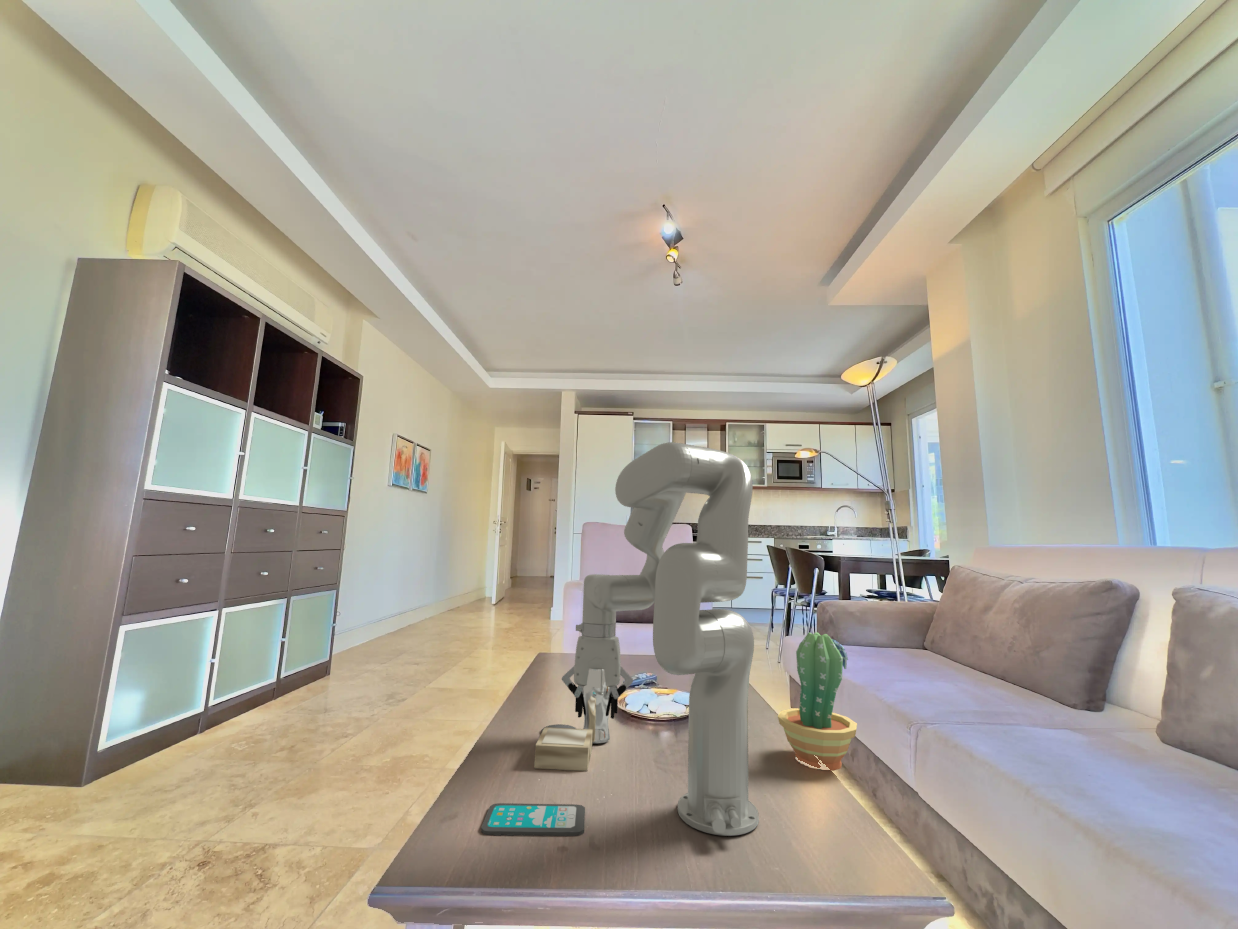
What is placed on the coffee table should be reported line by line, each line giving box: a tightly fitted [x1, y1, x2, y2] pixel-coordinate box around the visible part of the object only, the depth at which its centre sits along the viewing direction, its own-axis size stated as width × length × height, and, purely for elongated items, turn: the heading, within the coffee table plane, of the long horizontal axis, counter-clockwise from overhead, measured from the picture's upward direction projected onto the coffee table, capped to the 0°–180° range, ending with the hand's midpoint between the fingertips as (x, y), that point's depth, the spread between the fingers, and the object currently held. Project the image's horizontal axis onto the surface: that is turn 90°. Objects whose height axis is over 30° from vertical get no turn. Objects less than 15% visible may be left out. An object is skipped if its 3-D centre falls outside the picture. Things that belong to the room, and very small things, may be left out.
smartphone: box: [480, 802, 586, 837], centre depth 79 cm, size 9×1×15 cm
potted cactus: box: [777, 631, 858, 772], centre depth 107 cm, size 15×15×25 cm
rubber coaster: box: [541, 723, 577, 734], centre depth 115 cm, size 8×8×1 cm
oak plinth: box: [534, 726, 593, 772], centre depth 102 cm, size 10×10×4 cm
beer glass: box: [581, 668, 612, 745], centre depth 113 cm, size 7×7×15 cm
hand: (596, 715), depth 113 cm, fingers closed on beer glass, 6 cm apart
